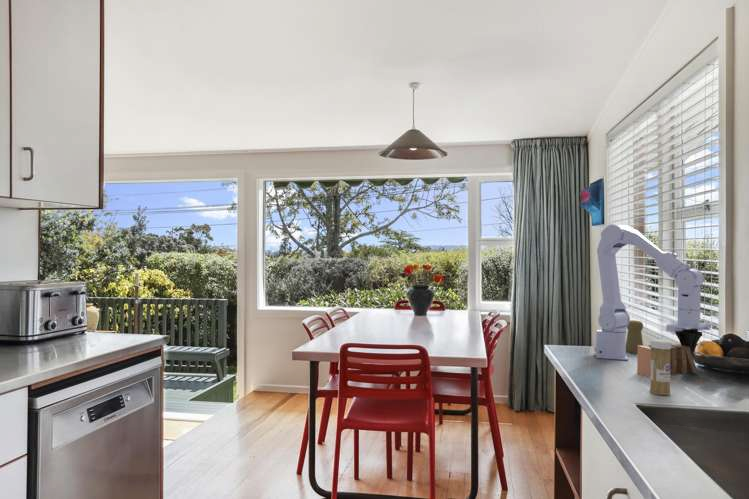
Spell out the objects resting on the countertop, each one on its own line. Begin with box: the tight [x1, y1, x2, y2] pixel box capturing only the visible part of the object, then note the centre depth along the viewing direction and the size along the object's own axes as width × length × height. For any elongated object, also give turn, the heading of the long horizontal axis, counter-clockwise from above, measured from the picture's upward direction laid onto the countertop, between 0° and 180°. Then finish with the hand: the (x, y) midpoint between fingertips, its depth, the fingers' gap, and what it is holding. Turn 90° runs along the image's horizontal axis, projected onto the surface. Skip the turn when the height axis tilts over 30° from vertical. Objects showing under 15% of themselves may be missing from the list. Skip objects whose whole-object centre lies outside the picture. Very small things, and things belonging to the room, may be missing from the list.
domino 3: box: [671, 342, 688, 375], centre depth 148 cm, size 2×4×8 cm, turn 16°
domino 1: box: [636, 345, 651, 378], centre depth 145 cm, size 2×4×8 cm, turn 16°
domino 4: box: [676, 343, 698, 374], centre depth 149 cm, size 2×4×8 cm, turn 16°
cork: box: [626, 319, 644, 355], centre depth 176 cm, size 6×6×11 cm
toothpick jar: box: [649, 338, 672, 396], centre depth 127 cm, size 5×5×14 cm
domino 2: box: [670, 346, 677, 376], centre depth 147 cm, size 2×4×8 cm, turn 16°
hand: (688, 354), depth 150 cm, fingers closed
